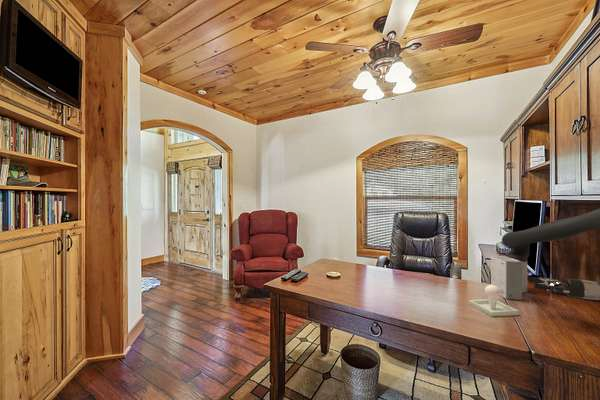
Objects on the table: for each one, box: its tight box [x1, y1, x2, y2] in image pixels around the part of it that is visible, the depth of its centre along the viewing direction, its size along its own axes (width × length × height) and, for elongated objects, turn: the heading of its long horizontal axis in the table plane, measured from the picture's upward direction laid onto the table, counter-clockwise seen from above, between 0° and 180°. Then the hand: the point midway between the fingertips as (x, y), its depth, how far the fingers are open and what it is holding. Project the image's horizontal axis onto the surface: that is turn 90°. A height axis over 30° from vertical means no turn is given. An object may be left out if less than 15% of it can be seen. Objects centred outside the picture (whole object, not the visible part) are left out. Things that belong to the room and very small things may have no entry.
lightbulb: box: [484, 284, 501, 309], centre depth 120 cm, size 6×6×11 cm
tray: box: [468, 298, 520, 318], centre depth 120 cm, size 13×13×2 cm
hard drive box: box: [490, 254, 523, 301], centre depth 138 cm, size 16×8×20 cm, turn 168°
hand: (531, 282), depth 114 cm, fingers open, 8 cm apart
